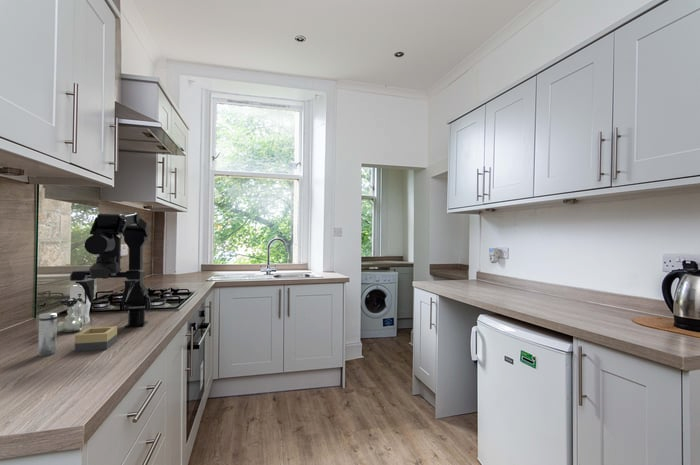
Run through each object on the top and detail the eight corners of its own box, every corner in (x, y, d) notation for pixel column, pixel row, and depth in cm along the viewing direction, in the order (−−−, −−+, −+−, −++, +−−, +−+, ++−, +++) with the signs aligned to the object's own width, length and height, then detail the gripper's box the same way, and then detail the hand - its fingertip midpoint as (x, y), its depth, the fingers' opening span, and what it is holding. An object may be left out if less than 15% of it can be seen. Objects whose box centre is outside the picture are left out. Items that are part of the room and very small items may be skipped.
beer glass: (65, 323, 133) (66, 286, 133) (86, 320, 139) (86, 284, 139) (74, 326, 130) (75, 287, 130) (94, 322, 136) (95, 285, 136)
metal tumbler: (42, 352, 102) (43, 312, 102) (59, 351, 103) (60, 312, 103) (34, 357, 98) (35, 315, 98) (51, 355, 99) (52, 315, 99)
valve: (62, 330, 124) (62, 298, 125) (84, 328, 127) (84, 297, 127) (54, 335, 118) (55, 301, 118) (77, 333, 121) (78, 300, 121)
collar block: (87, 343, 111) (87, 328, 111) (116, 341, 113) (117, 326, 113) (74, 351, 102) (75, 335, 103) (106, 349, 105) (107, 333, 105)
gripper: (60, 254, 96) (59, 308, 96) (134, 254, 102) (133, 305, 101) (79, 252, 107) (78, 301, 107) (145, 252, 112) (144, 299, 112)
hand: (108, 302), depth 106 cm, fingers open, 9 cm apart
